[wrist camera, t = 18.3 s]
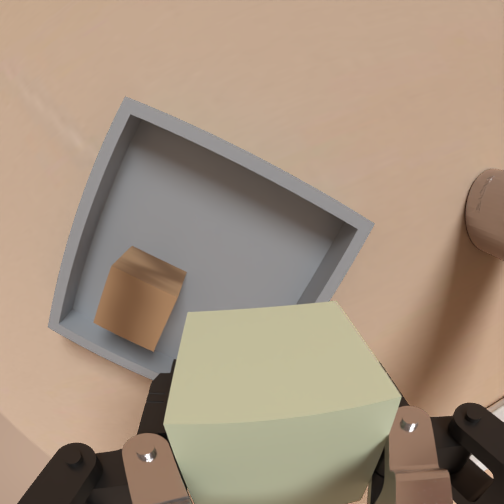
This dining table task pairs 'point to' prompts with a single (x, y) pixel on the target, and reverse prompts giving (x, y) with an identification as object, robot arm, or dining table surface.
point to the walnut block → (139, 297)
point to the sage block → (277, 406)
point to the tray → (196, 232)
